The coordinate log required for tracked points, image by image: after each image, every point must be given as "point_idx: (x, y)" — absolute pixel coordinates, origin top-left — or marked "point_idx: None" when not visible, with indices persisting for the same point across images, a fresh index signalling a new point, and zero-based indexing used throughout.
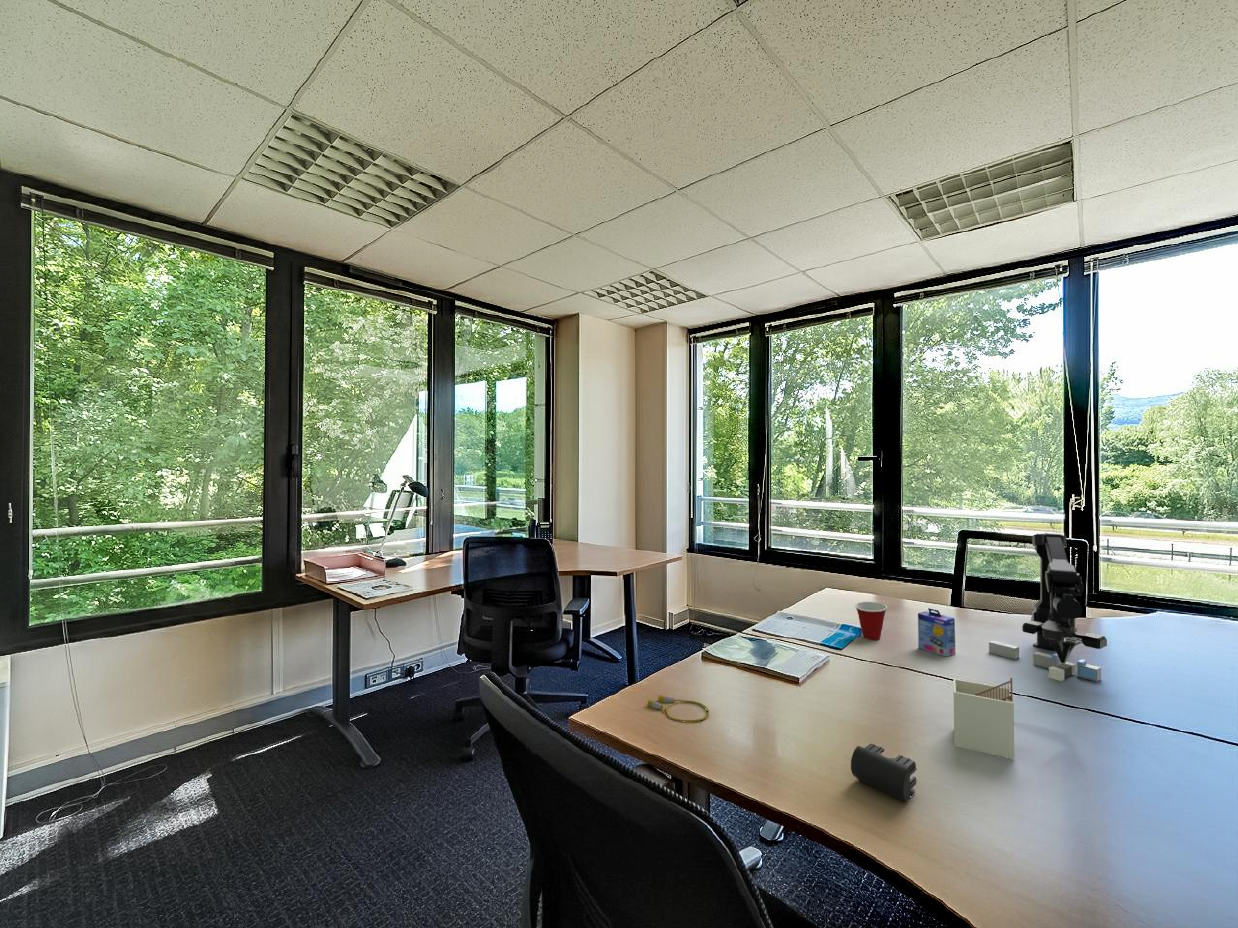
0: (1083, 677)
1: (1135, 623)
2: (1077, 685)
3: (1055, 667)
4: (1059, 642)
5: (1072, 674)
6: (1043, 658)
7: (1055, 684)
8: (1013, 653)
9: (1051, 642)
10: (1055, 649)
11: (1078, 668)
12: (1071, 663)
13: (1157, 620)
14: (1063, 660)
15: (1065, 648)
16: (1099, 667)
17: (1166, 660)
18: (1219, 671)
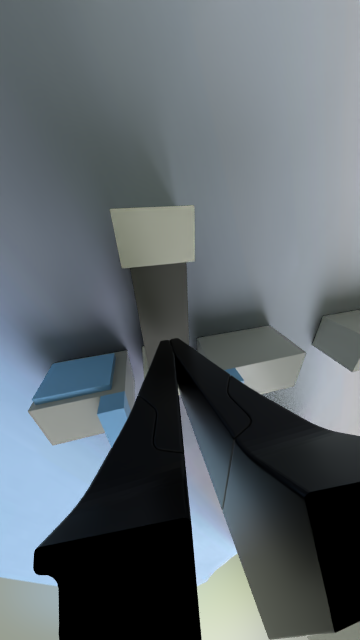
0: (104, 354)
1: (211, 564)
2: (33, 220)
3: (171, 257)
4: (263, 520)
5: (143, 347)
6: (259, 351)
7: (87, 76)
8: (348, 325)
9: (357, 440)
10: (241, 383)
11: (120, 376)
12: None
13: (201, 576)
14: (164, 347)
15: (148, 448)
16: (53, 440)
17: None
18: (41, 577)
